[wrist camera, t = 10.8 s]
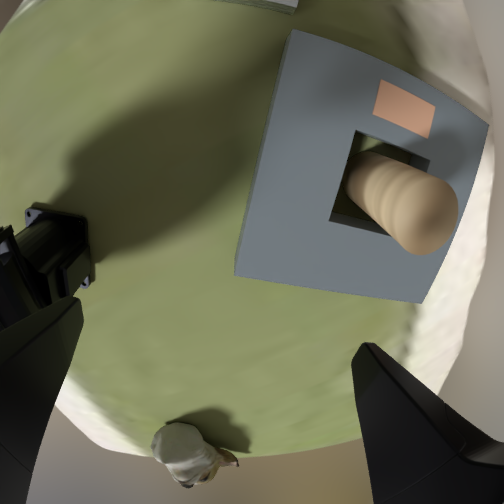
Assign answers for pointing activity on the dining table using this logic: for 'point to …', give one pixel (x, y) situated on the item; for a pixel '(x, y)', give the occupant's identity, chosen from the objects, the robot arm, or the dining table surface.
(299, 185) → the hole plate
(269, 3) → the plate
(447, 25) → the dining table surface
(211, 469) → the ceramic sculpture
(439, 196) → the peg
